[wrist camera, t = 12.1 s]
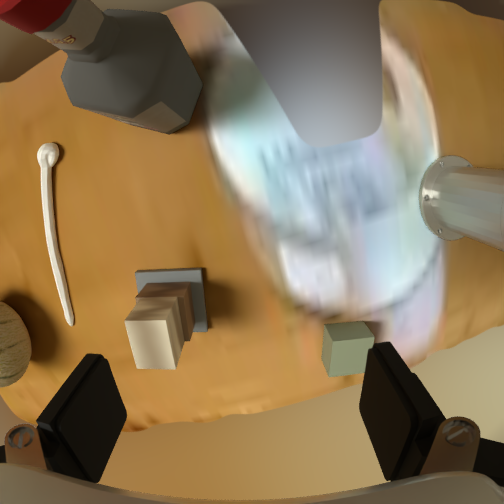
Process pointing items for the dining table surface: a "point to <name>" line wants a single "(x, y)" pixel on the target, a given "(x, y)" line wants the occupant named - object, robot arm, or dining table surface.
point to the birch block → (155, 333)
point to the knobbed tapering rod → (53, 223)
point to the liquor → (116, 60)
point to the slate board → (180, 276)
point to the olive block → (346, 348)
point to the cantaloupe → (13, 346)
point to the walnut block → (184, 301)
